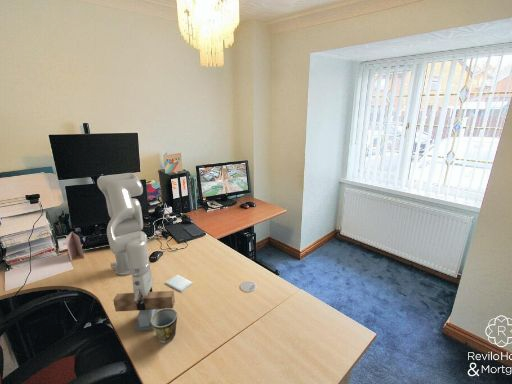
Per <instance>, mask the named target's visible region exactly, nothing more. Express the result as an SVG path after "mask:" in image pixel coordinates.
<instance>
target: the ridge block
mask: <svg viewBox="0 0 512 384" xmlns="http://www.w3.org/2000/svg"><path fill="white" fill-rule="evenodd" d="M159 310H161V309H153V310H141V311H139V312H138V314H137V319H138V320H137V321H136V323H135V326H134V328H133V331H134V332H144V331H146V332H147V331H155V330H154V328H153V326H152V323H151V318H152V316H153V315H154V314H155V313H156V312H157V311H159Z"/></svg>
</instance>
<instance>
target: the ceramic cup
mask: <svg viewBox="0 0 512 384" xmlns="http://www.w3.org/2000/svg"><path fill="white" fill-rule="evenodd" d="M177 322H178V313H177V311H176V310H175V309H174V308H165V309H161V310H159V311H157V312H156V313H155V314H154V315H153V316H152V318H151V323H152V326H153V328H154V330H153V331H154V332H155V335H156V336H157V339H158V341H159V342H160V343H163V344H167V343H170V342H172V341H173V340H174V338H175V336H176V333H177V332H176V330H177Z"/></svg>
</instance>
